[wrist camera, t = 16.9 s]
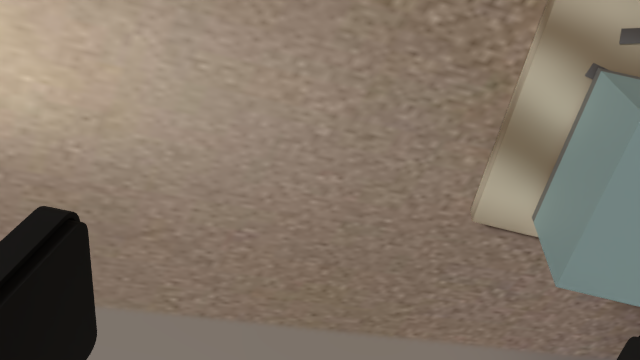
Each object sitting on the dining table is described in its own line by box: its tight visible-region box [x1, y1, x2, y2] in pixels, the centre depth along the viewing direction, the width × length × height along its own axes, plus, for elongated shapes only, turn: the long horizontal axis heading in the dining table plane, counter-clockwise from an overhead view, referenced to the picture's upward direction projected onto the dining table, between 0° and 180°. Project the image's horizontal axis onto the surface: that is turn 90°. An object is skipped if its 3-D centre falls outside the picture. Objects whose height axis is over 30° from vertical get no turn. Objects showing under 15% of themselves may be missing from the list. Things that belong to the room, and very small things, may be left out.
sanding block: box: [532, 68, 640, 307], centre depth 30 cm, size 10×6×7 cm, turn 169°
